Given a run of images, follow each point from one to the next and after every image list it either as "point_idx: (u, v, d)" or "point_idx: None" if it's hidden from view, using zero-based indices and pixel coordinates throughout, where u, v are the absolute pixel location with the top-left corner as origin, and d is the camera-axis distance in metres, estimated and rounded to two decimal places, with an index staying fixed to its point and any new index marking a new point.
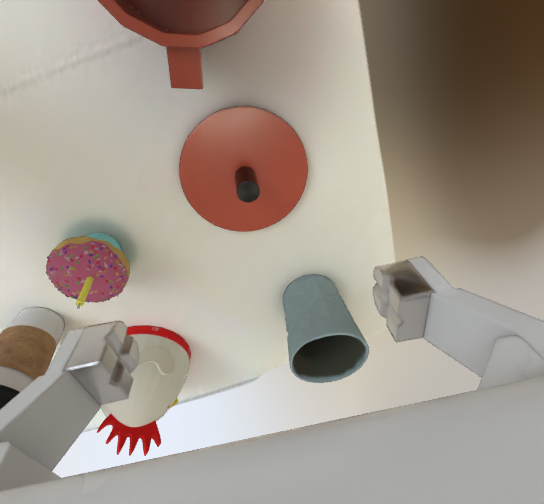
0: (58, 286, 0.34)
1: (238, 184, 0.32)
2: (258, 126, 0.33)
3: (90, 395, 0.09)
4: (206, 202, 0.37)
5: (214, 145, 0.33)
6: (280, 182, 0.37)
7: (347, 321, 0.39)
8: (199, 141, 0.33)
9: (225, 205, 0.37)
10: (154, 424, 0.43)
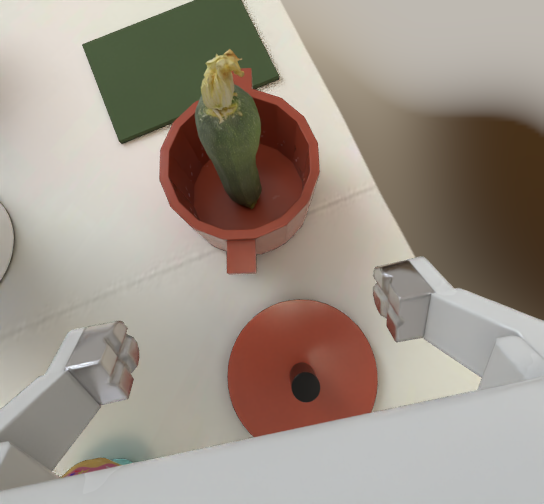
0: None
1: (293, 378, 0.26)
2: (313, 317, 0.31)
3: (90, 395, 0.09)
4: (256, 411, 0.30)
5: (267, 339, 0.31)
6: (344, 381, 0.30)
7: None
8: (251, 336, 0.31)
9: (279, 415, 0.30)
10: None
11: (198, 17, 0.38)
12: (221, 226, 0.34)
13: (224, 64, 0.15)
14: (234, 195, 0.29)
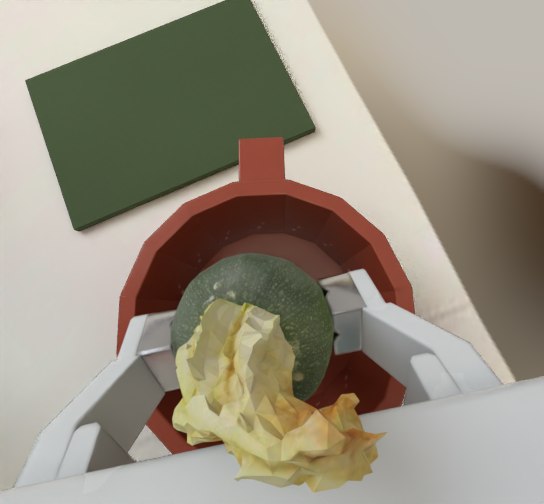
0: None
1: None
2: None
3: (157, 381, 0.09)
4: None
5: None
6: None
7: None
8: None
9: None
10: None
11: (194, 39, 0.26)
12: None
13: (288, 476, 0.03)
14: None
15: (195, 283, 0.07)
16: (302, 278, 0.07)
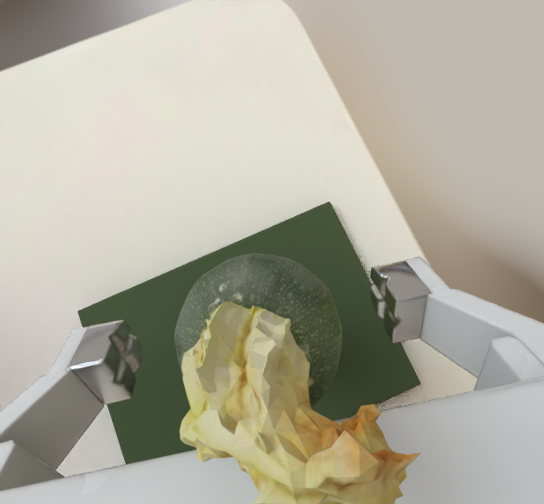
0: None
1: None
2: None
3: (93, 395, 0.09)
4: None
5: None
6: None
7: None
8: None
9: None
10: None
11: None
12: None
13: None
14: None
15: (200, 285, 0.07)
16: (310, 279, 0.07)
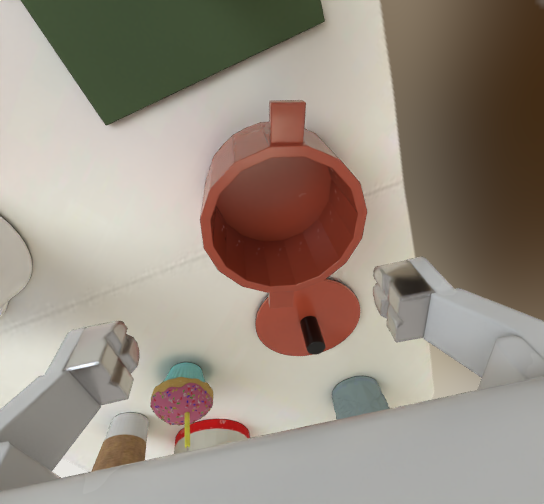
0: (160, 417, 0.42)
1: (308, 343, 0.39)
2: (322, 291, 0.40)
3: (90, 395, 0.09)
4: (275, 340, 0.44)
5: None
6: (336, 323, 0.44)
7: None
8: None
9: (290, 340, 0.45)
10: None
11: None
12: (246, 223, 0.34)
13: None
14: None
15: None
16: None
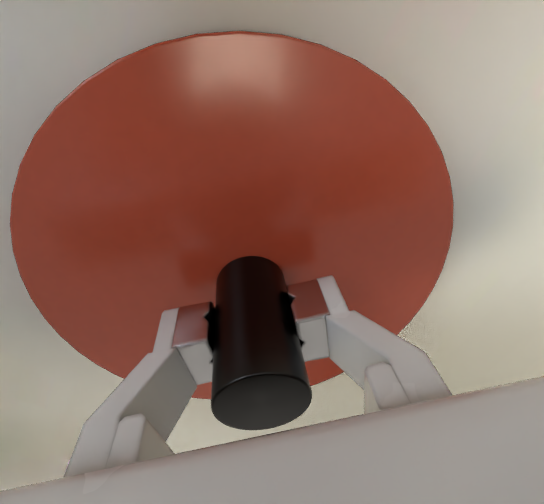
0: None
1: (218, 377, 0.07)
2: (296, 118, 0.08)
3: (190, 374, 0.09)
4: (138, 353, 0.12)
5: (129, 197, 0.09)
6: (358, 289, 0.12)
7: None
8: (65, 188, 0.08)
9: None
10: None
11: None
12: None
13: None
14: None
15: None
16: None
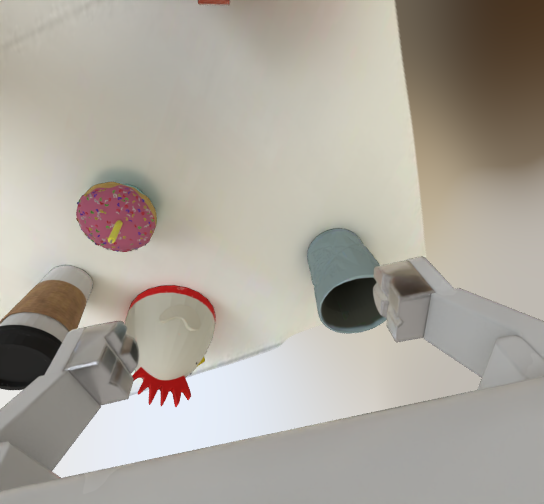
0: (88, 232, 0.35)
1: None
2: None
3: (90, 395, 0.09)
4: None
5: None
6: None
7: (376, 266, 0.38)
8: None
9: None
10: (183, 379, 0.43)
11: None
12: None
13: None
14: None
15: None
16: None
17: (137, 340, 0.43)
